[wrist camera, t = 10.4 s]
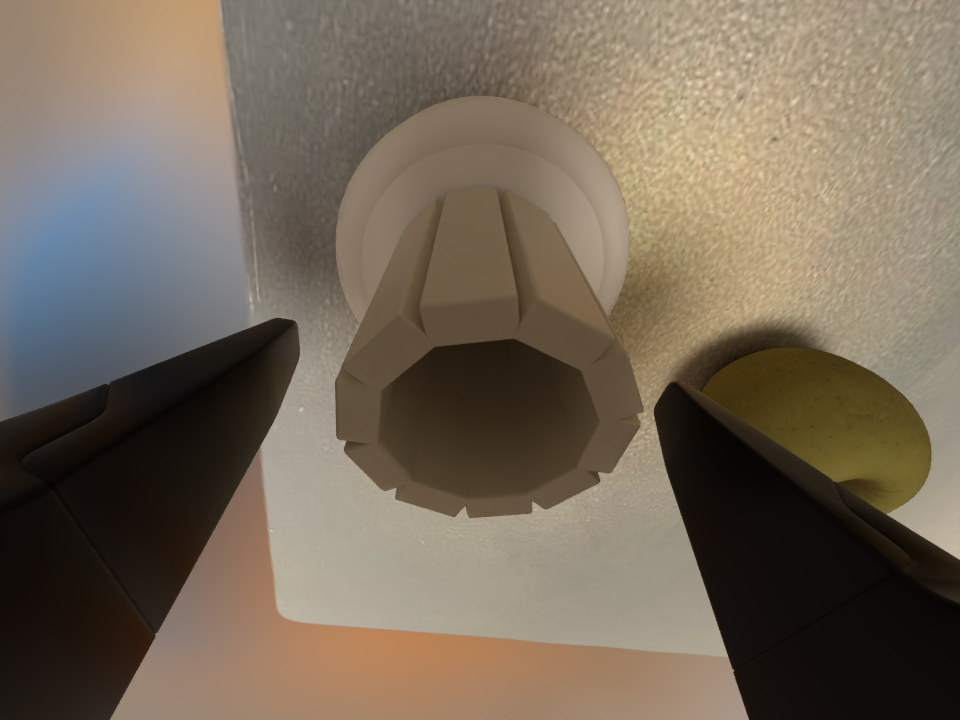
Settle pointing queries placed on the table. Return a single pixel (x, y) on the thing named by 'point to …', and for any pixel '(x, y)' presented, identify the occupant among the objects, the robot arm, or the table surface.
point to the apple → (831, 419)
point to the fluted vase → (485, 365)
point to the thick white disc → (477, 164)
